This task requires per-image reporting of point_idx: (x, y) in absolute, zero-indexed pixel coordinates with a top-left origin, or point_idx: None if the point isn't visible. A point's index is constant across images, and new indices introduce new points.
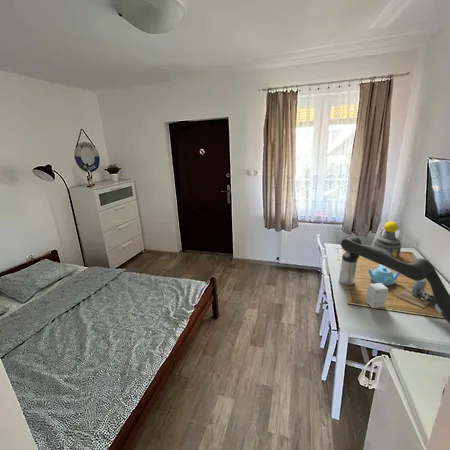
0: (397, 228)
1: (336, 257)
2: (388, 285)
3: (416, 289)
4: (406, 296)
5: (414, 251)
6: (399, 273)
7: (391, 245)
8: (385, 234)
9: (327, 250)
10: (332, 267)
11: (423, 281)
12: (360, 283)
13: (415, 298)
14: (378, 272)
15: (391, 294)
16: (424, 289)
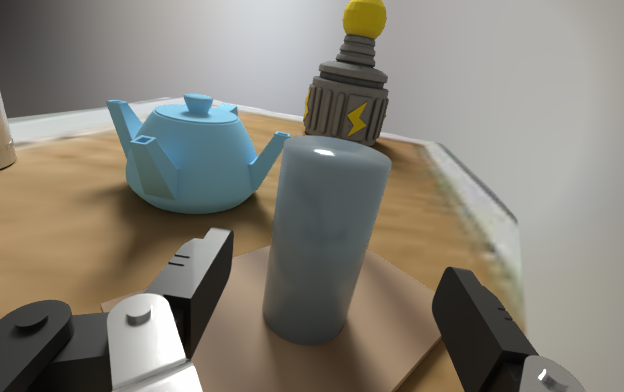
0: (382, 19)
1: None
2: (195, 213)
3: (277, 252)
4: None
5: (432, 145)
6: (281, 145)
7: (351, 84)
8: (341, 46)
9: (168, 101)
10: (60, 121)
11: (352, 161)
12: (27, 182)
13: (256, 347)
14: (146, 119)
15: (99, 279)
16: (354, 260)
